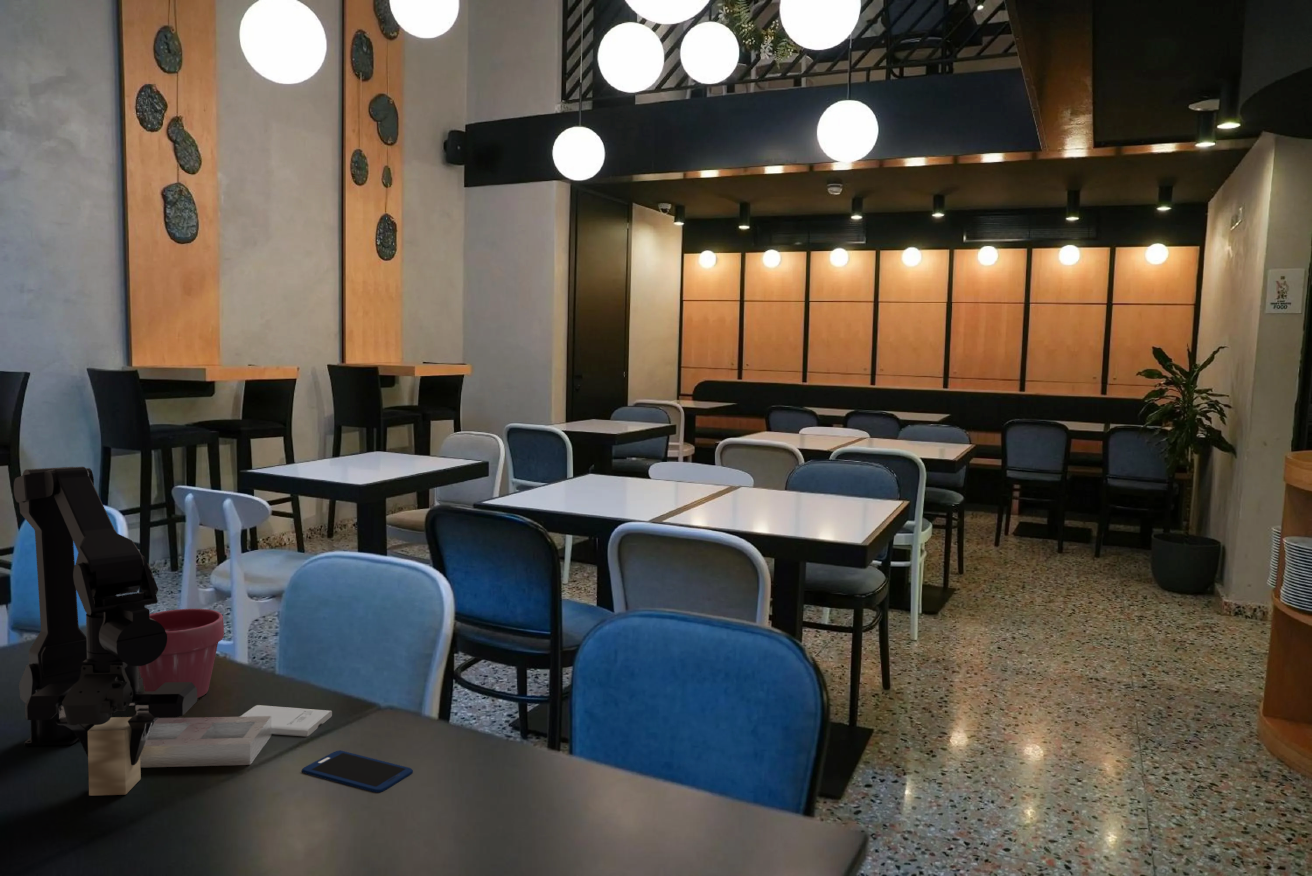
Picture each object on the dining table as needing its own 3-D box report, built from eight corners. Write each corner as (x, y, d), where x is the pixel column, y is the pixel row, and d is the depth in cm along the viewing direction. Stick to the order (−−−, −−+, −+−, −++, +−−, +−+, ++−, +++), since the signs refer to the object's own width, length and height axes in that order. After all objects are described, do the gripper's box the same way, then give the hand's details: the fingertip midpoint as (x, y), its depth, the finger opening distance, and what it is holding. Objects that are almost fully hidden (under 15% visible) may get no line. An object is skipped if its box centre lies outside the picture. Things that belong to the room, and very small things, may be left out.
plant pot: (109, 698, 149) (108, 621, 148) (189, 674, 162) (188, 603, 161) (163, 717, 143) (162, 636, 142) (242, 690, 155) (242, 616, 154)
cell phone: (337, 754, 132) (337, 748, 132) (415, 774, 126) (415, 768, 126) (299, 774, 125) (299, 768, 125) (379, 796, 120) (379, 790, 120)
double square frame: (112, 767, 125) (111, 746, 124) (143, 738, 135) (143, 718, 134) (250, 764, 127) (250, 743, 127) (271, 735, 137) (271, 715, 137)
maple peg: (89, 795, 117) (87, 730, 116) (105, 779, 121) (104, 717, 120) (125, 794, 117) (124, 730, 117) (140, 778, 122) (139, 716, 121)
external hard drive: (257, 713, 146) (332, 718, 145) (228, 734, 138) (307, 739, 137) (257, 703, 146) (332, 708, 145) (228, 723, 138) (307, 728, 137)
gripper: (-3, 668, 108) (1, 795, 110) (164, 666, 111) (165, 791, 112) (47, 640, 119) (50, 755, 121) (198, 639, 122) (199, 752, 123)
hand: (114, 764), depth 119 cm, fingers closed on maple peg, 4 cm apart
